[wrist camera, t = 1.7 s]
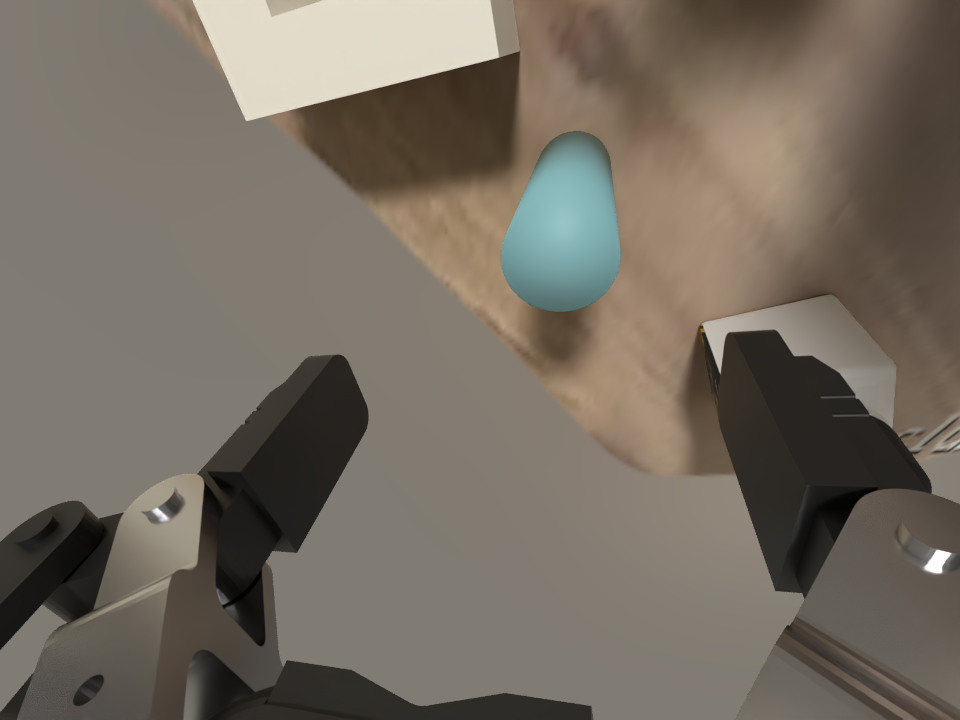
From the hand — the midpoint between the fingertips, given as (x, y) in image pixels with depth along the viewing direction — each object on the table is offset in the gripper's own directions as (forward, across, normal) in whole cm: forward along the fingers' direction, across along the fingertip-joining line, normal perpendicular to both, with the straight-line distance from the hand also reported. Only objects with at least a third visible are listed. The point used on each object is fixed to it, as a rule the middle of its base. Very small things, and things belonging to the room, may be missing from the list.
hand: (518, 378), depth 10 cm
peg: (+19, -1, 0) cm, 19 cm away
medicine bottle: (+19, -12, +13) cm, 26 cm away
